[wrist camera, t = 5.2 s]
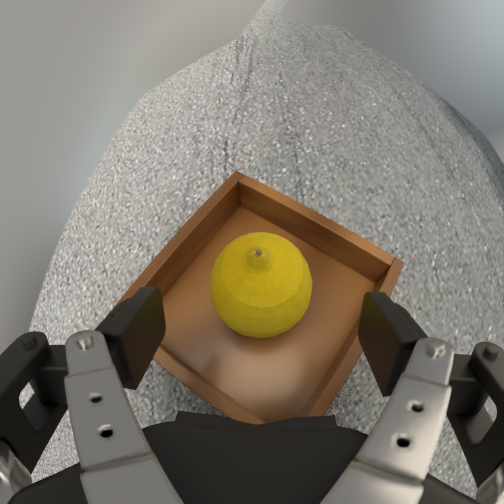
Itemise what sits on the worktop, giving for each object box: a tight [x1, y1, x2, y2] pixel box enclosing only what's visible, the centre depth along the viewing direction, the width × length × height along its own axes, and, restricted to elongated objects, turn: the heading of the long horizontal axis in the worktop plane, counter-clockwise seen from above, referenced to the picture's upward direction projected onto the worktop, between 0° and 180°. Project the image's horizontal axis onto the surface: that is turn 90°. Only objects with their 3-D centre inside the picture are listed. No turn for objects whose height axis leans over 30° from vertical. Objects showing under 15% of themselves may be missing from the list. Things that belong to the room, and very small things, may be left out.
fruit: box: [209, 232, 312, 338], centre depth 16 cm, size 6×6×8 cm
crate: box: [108, 171, 404, 424], centre depth 19 cm, size 14×14×4 cm
